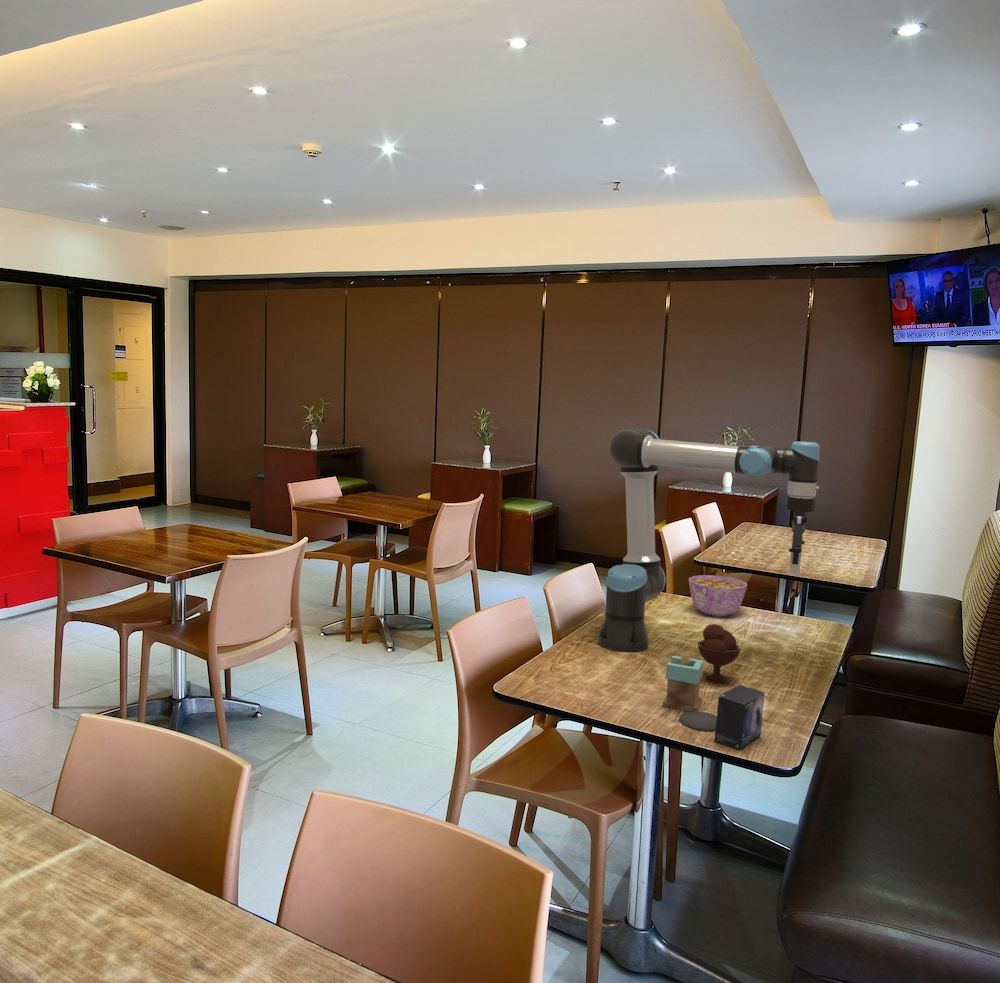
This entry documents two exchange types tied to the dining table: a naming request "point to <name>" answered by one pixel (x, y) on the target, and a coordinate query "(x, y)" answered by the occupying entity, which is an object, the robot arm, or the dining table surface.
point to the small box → (739, 716)
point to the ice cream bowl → (718, 650)
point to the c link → (684, 670)
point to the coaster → (699, 720)
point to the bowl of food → (717, 594)
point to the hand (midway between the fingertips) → (794, 571)
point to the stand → (682, 692)
